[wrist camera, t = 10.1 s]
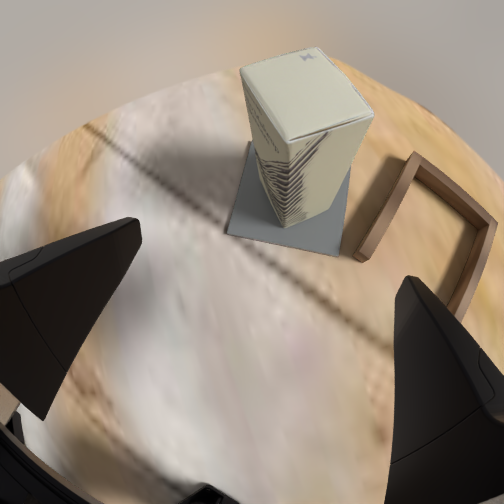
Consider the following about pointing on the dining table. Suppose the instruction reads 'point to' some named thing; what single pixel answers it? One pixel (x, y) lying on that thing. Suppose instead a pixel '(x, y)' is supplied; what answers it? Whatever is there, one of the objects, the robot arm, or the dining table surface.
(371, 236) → the cradle
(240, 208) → the coaster
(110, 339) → the dining table surface
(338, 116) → the box
